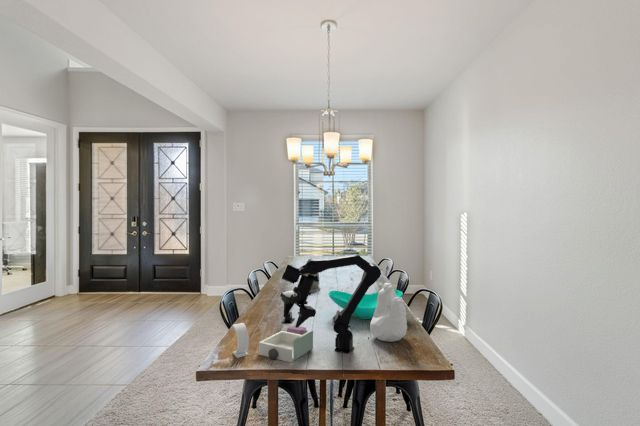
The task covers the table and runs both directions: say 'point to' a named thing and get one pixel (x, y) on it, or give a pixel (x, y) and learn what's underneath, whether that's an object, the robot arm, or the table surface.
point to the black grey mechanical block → (288, 319)
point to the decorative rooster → (389, 316)
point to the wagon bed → (278, 346)
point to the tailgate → (302, 344)
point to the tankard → (315, 285)
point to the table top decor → (365, 306)
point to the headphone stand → (241, 340)
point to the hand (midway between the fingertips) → (290, 322)
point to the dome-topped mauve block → (297, 330)
